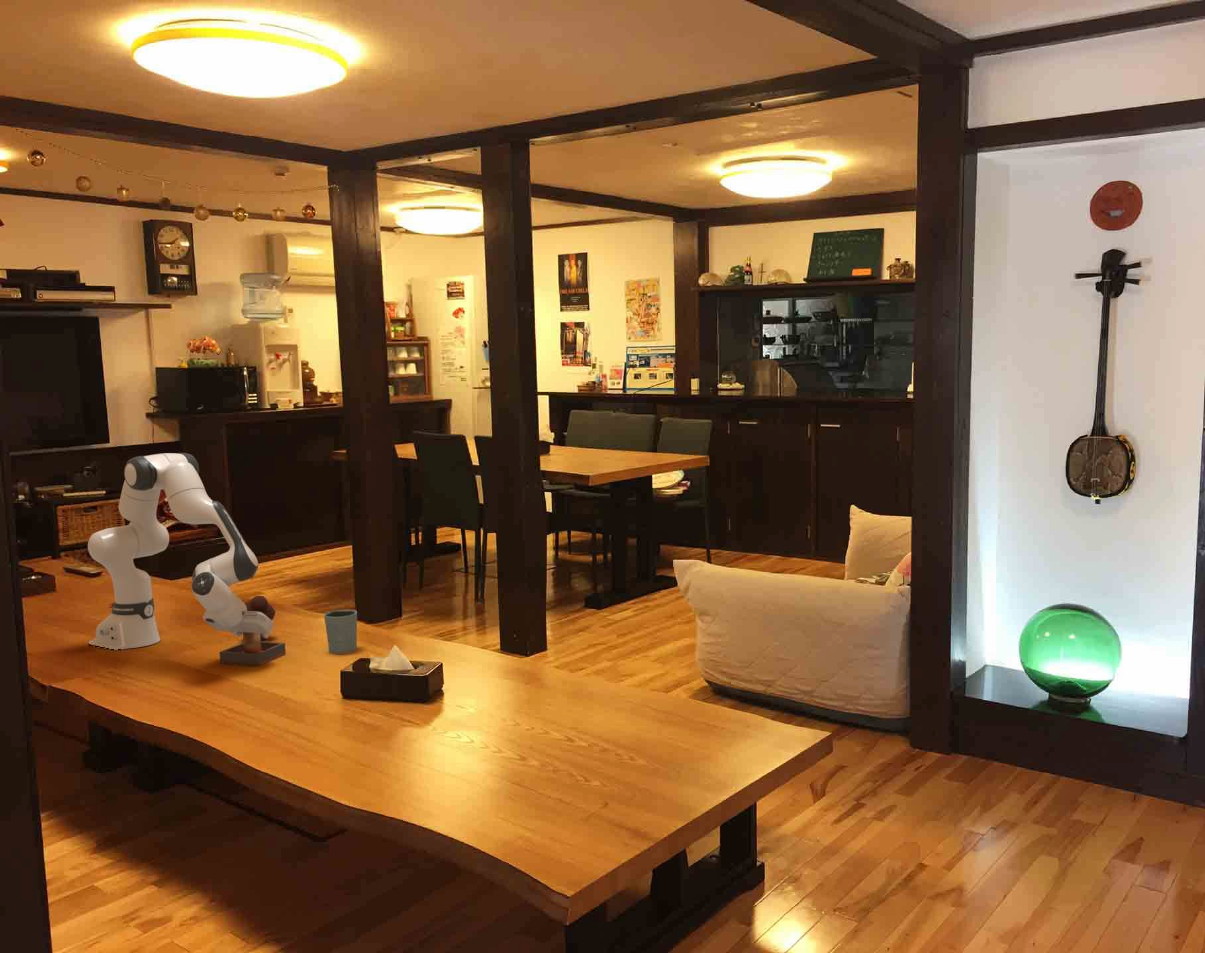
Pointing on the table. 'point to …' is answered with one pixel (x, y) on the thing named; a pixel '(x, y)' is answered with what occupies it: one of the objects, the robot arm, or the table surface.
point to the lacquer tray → (240, 658)
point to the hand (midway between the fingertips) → (253, 635)
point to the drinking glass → (341, 631)
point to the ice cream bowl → (261, 608)
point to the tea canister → (251, 642)
